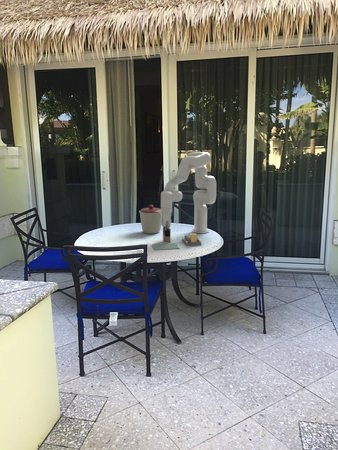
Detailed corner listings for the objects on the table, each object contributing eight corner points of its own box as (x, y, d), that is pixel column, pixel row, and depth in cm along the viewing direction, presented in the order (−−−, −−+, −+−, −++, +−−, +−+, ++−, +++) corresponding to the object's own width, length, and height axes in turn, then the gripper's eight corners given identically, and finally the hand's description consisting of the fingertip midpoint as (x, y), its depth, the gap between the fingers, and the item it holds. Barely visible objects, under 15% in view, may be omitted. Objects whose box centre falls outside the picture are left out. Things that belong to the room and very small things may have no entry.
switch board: (182, 240, 249) (182, 235, 248) (196, 239, 251) (196, 234, 250) (186, 245, 236) (186, 240, 235) (201, 245, 237) (201, 240, 237)
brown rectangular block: (162, 241, 248) (162, 228, 246) (169, 240, 249) (169, 228, 247) (163, 242, 244) (163, 229, 242) (170, 242, 245) (170, 229, 243)
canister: (164, 229, 281) (164, 203, 277) (161, 235, 264) (161, 207, 259) (141, 229, 283) (141, 202, 278) (137, 234, 265) (136, 206, 261)
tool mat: (152, 245, 238) (152, 244, 238) (175, 243, 240) (175, 243, 240) (154, 250, 226) (154, 249, 226) (179, 248, 229) (179, 248, 229)
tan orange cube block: (189, 240, 240) (189, 233, 239) (195, 240, 241) (195, 233, 240) (190, 242, 236) (190, 235, 235) (196, 242, 237) (196, 234, 236)
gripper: (159, 208, 249) (158, 232, 253) (162, 212, 233) (162, 237, 236) (169, 207, 251) (169, 231, 254) (174, 211, 234) (173, 237, 237)
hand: (166, 234), depth 245 cm, fingers open, 9 cm apart
